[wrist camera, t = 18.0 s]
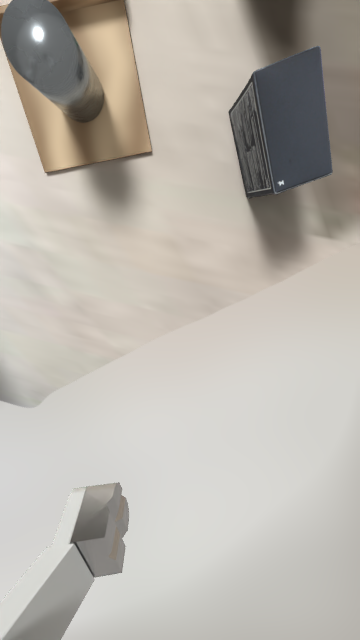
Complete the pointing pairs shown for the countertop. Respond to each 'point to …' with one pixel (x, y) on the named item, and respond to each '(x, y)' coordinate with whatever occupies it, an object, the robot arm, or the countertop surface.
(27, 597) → the robot arm
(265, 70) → the small box
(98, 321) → the countertop surface
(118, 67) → the wooden tray board
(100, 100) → the slate tin
